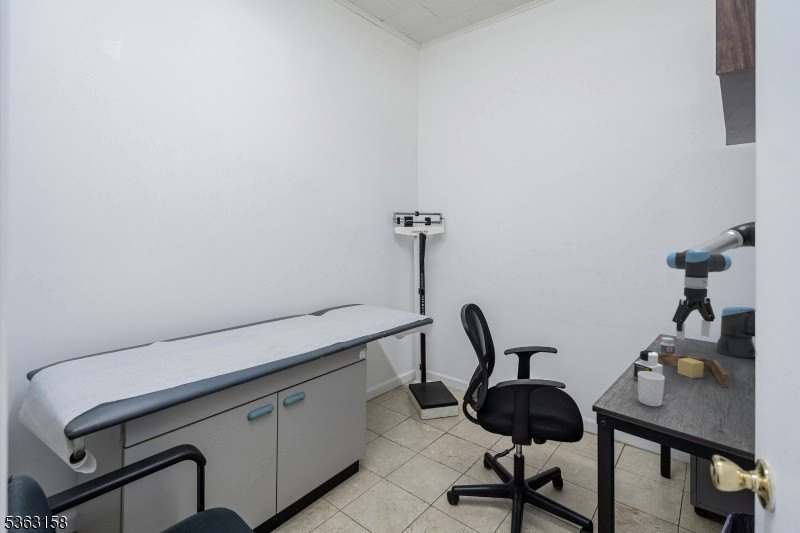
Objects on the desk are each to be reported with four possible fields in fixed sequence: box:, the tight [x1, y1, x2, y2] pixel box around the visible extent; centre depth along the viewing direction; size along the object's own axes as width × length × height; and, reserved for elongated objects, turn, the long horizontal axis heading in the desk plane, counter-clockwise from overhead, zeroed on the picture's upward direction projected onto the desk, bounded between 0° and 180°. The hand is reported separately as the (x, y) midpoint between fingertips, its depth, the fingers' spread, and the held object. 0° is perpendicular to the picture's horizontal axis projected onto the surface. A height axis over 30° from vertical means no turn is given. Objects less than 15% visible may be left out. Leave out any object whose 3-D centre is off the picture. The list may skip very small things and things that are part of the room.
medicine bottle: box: [633, 349, 664, 381], centre depth 148 cm, size 7×7×12 cm
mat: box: [674, 371, 706, 380], centre depth 154 cm, size 10×10×1 cm
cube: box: [676, 358, 704, 379], centre depth 154 cm, size 6×6×6 cm
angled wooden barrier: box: [655, 351, 729, 388], centre depth 155 cm, size 22×20×5 cm
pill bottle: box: [659, 336, 676, 355], centre depth 174 cm, size 6×6×10 cm
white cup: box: [637, 371, 666, 407], centre depth 129 cm, size 8×8×10 cm
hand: (692, 337), depth 152 cm, fingers open, 13 cm apart
